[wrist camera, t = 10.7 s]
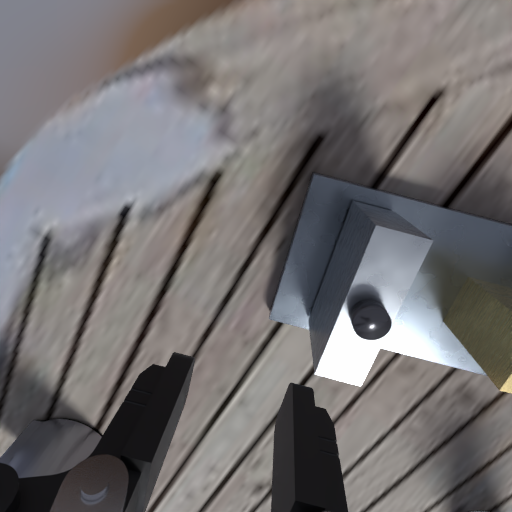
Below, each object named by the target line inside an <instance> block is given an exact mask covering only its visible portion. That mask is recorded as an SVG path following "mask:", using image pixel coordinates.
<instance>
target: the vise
mask: <svg viewBox="0 0 512 512" xmlns="http://www.w3.org/2000/svg"><path fill="white" fill-rule="evenodd" d="M352 201H356V202H360V203H364V204H367V205H371V206H375V207H379V208H383V209H386V210H390V211H394V212H396V213H397V214H399V215H400V216H401V217H403V218H404V219H405V220H407V221H408V222H409V223H411V224H412V225H414V226H415V227H416V228H418V229H419V230H420V231H422V232H423V233H424V234H426V235H427V236H428V237H430V238H431V239H432V240H434V241H433V243H432V245H431V247H430V249H429V251H428V253H427V255H426V257H425V259H424V261H423V263H422V265H421V267H420V269H419V271H418V273H417V275H416V277H415V279H414V281H413V283H412V285H411V287H410V289H409V291H408V293H407V295H406V297H405V299H404V301H403V303H402V305H401V307H400V309H399V311H398V313H397V315H396V317H395V319H394V321H393V323H392V326H391V329H390V331H389V332H388V333H387V335H386V337H385V339H384V341H383V343H382V345H381V347H380V348H382V349H386V350H390V351H394V352H398V353H401V354H405V355H409V356H413V357H417V358H421V359H424V360H428V361H432V362H436V363H440V364H444V365H448V366H451V367H455V368H459V369H463V370H467V371H471V372H474V373H478V374H482V375H486V376H487V374H486V373H485V372H484V371H483V370H482V368H481V367H480V366H479V365H478V363H477V362H476V361H475V360H474V359H473V357H472V356H471V355H470V354H469V353H468V351H467V350H466V349H465V348H464V346H463V345H462V344H461V343H460V342H459V340H458V339H457V338H456V337H455V335H454V334H453V333H452V332H451V331H450V329H449V328H448V327H447V326H446V325H445V323H444V322H443V320H444V318H445V317H446V315H447V313H448V311H449V310H450V308H451V306H452V304H453V303H454V301H455V299H456V297H457V295H458V294H459V292H460V290H461V288H462V287H463V285H464V283H465V281H466V280H467V278H468V277H471V278H475V279H479V280H483V281H487V282H491V283H494V284H498V285H502V286H506V287H510V288H512V224H508V223H504V222H500V221H496V220H493V219H489V218H485V217H481V216H477V215H474V214H470V213H466V212H462V211H459V210H455V209H451V208H447V207H443V206H440V205H436V204H432V203H428V202H424V201H421V200H417V199H413V198H409V197H406V196H402V195H398V194H394V193H390V192H387V191H383V190H379V189H375V188H371V187H368V186H364V185H360V184H356V183H353V182H349V181H345V180H341V179H337V178H334V177H330V176H326V175H322V174H318V173H315V172H313V173H312V176H311V179H310V183H309V186H308V189H307V192H306V196H305V199H304V202H303V205H302V209H301V212H300V215H299V218H298V222H297V225H296V228H295V231H294V235H293V238H292V241H291V244H290V248H289V251H288V254H287V257H286V261H285V264H284V267H283V270H282V274H281V277H280V280H279V283H278V287H277V290H276V293H275V297H274V300H273V303H272V306H271V310H270V316H269V319H271V320H275V321H278V322H282V323H286V324H290V325H294V326H298V327H301V328H305V329H309V322H308V320H309V317H310V315H311V312H312V309H313V307H314V304H315V301H316V298H317V296H318V293H319V290H320V288H321V285H322V282H323V279H324V277H325V274H326V271H327V269H328V266H329V263H330V260H331V258H332V255H333V252H334V250H335V247H336V244H337V242H338V239H339V236H340V233H341V231H342V228H343V225H344V223H345V220H346V217H347V214H348V212H349V209H350V206H351V204H352Z"/></svg>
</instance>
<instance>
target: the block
mask: <svg viewBox="0 0 512 512" xmlns="http://www.w3.org/2000/svg"><path fill="white" fill-rule="evenodd" d="M443 322H444V323H445V325H446V326H447V327H448V328H449V329H450V331H451V332H452V333H453V334H454V335H455V337H456V338H457V339H458V340H459V342H460V343H461V344H462V345H463V346H464V348H465V349H466V350H467V351H468V353H469V354H470V355H471V356H472V357H473V359H474V360H475V361H476V362H477V363H478V365H479V366H480V367H481V368H482V370H483V371H484V372H485V373H486V374H487V376H488V377H489V378H490V379H491V380H492V382H493V383H494V384H495V385H496V387H497V388H498V389H499V390H500V391H504V392H508V393H512V288H510V287H506V286H502V285H498V284H494V283H491V282H487V281H483V280H479V279H475V278H471V277H468V278H467V280H466V281H465V283H464V285H463V287H462V288H461V290H460V292H459V294H458V295H457V297H456V299H455V301H454V303H453V304H452V306H451V308H450V310H449V311H448V313H447V315H446V317H445V318H444V320H443Z"/></svg>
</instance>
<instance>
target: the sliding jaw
mask: <svg viewBox="0 0 512 512" xmlns="http://www.w3.org/2000/svg"><path fill="white" fill-rule="evenodd" d="M433 241H434V240H432V239H431V238H430V237H428V236H427V235H426V234H424V233H423V232H422V231H420V230H419V229H418V228H416V227H415V226H414V225H412V224H411V223H409V222H408V221H407V220H405V219H404V218H403V217H401V216H400V215H399V214H397V213H396V212H394V211H390V210H386V209H383V208H379V207H375V206H371V205H367V204H364V203H360V202H356V201H352V204H351V206H350V209H349V212H348V214H347V217H346V220H345V223H344V225H343V228H342V231H341V233H340V236H339V239H338V242H337V244H336V247H335V250H334V252H333V255H332V258H331V260H330V263H329V266H328V269H327V271H326V274H325V277H324V279H323V282H322V285H321V288H320V290H319V293H318V296H317V298H316V301H315V304H314V307H313V309H312V312H311V315H310V317H309V320H308V322H309V330H310V339H311V347H312V356H313V364H314V373H315V375H319V376H323V377H327V378H331V379H334V380H338V381H342V382H346V383H350V384H354V385H358V386H361V385H362V383H363V381H364V379H365V377H366V375H367V373H368V371H369V369H370V367H371V365H372V363H373V361H374V359H375V357H376V355H377V353H378V351H379V349H380V347H381V345H382V343H383V341H384V339H385V337H386V335H387V333H388V332H389V331H390V329H391V326H392V323H393V321H394V319H395V317H396V315H397V313H398V311H399V309H400V307H401V305H402V303H403V301H404V299H405V297H406V295H407V293H408V291H409V289H410V287H411V285H412V283H413V281H414V279H415V277H416V275H417V273H418V271H419V269H420V267H421V265H422V263H423V261H424V259H425V257H426V255H427V253H428V251H429V249H430V247H431V245H432V243H433Z"/></svg>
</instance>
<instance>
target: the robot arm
mask: <svg viewBox="0 0 512 512" xmlns="http://www.w3.org/2000/svg"><path fill="white" fill-rule="evenodd" d="M194 363H195V357H191V356H187V355H183V354H179V353H176V352H174V353H173V354H172V356H171V358H170V360H169V362H168V364H167V366H166V367H163V366H159V365H155V364H152V365H151V366H150V367H148V368H147V369H146V370H145V371H143V372H142V373H141V374H140V375H139V376H138V378H137V380H136V381H135V383H134V385H133V386H132V388H131V390H130V391H129V393H128V395H127V396H126V398H125V400H124V402H123V403H122V405H121V406H120V408H119V410H118V411H117V413H116V415H115V416H114V418H113V419H112V421H111V423H110V424H109V426H108V428H107V429H106V431H105V433H104V434H103V436H102V437H101V436H100V435H99V434H98V433H97V432H95V431H94V430H93V429H91V428H89V427H88V426H86V425H84V424H81V423H79V422H76V421H72V420H67V419H51V420H48V421H44V422H40V421H36V420H33V421H32V422H31V423H30V424H29V425H28V426H27V428H26V429H25V430H24V431H23V432H22V433H21V434H20V436H19V437H18V438H17V439H16V440H15V441H14V442H13V444H12V445H11V446H10V447H9V448H8V449H7V450H6V452H5V453H4V454H3V455H2V456H1V457H0V512H145V511H146V508H147V505H148V503H149V500H150V497H151V494H152V492H153V489H154V486H155V484H156V481H157V478H158V476H159V473H160V470H161V467H162V465H163V462H164V459H165V457H166V454H167V451H168V449H169V446H170V443H171V440H172V438H173V435H174V432H175V430H176V427H177V424H178V422H179V419H180V416H181V413H182V411H183V408H184V405H185V402H186V398H187V395H188V391H189V386H190V381H191V377H192V372H193V367H194ZM336 441H337V440H336V434H335V428H334V424H333V422H332V420H331V418H330V416H329V414H328V413H327V411H326V409H324V408H320V407H316V406H315V401H314V392H313V389H312V388H310V387H306V386H302V385H298V384H294V383H290V384H289V386H288V389H287V391H286V394H285V397H284V399H283V402H282V405H281V407H280V410H279V413H278V416H277V419H276V424H275V431H274V453H273V478H272V503H271V512H348V508H347V502H346V496H345V490H344V483H343V477H342V471H341V465H340V459H339V458H338V456H339V453H338V447H337V444H336Z"/></svg>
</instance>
